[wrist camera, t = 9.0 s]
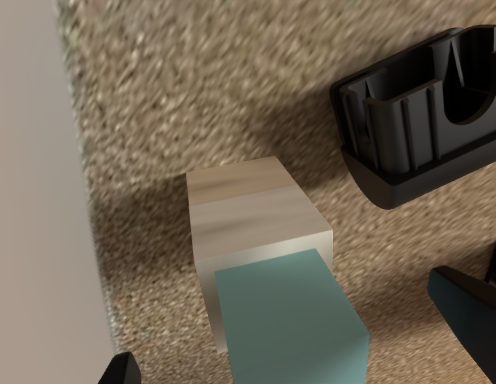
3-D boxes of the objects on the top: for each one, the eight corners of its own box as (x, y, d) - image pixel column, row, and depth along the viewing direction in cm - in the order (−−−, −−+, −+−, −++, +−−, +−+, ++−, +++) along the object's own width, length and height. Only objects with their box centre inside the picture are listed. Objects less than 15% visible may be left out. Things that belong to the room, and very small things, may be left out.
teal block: (316, 317, 16) (362, 410, 12) (229, 340, 16) (248, 445, 12) (315, 248, 14) (370, 333, 10) (214, 271, 14) (231, 372, 10)
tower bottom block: (280, 228, 25) (301, 267, 21) (202, 245, 24) (208, 289, 20) (274, 155, 22) (297, 184, 18) (185, 172, 21) (189, 206, 17)
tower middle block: (301, 266, 21) (331, 323, 17) (208, 288, 20) (217, 353, 16) (297, 184, 18) (333, 229, 14) (188, 206, 17) (194, 261, 13)
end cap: (344, 179, 24) (400, 231, 18) (319, 88, 20) (379, 116, 14) (467, 122, 24) (564, 155, 18) (464, 21, 20) (584, 20, 14)
